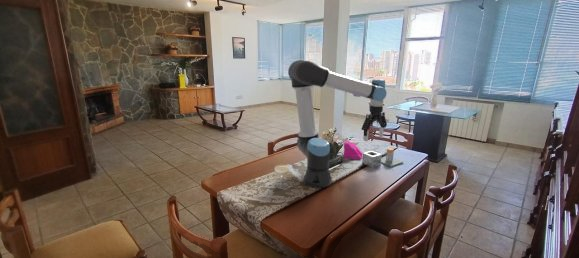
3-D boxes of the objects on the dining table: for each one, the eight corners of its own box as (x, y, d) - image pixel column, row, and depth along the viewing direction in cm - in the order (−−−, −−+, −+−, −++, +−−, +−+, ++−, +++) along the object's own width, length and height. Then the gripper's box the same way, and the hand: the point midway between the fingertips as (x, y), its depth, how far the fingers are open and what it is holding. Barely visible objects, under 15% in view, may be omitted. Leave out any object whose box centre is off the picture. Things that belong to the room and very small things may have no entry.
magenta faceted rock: (343, 157, 181) (344, 143, 178) (345, 152, 191) (346, 138, 188) (361, 159, 177) (362, 145, 175) (362, 154, 187) (363, 140, 184)
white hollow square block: (371, 167, 165) (372, 157, 163) (362, 163, 172) (363, 152, 170) (380, 164, 169) (381, 154, 168) (370, 160, 176) (371, 150, 174)
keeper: (390, 167, 166) (392, 153, 163) (375, 160, 175) (376, 148, 173) (402, 163, 172) (404, 150, 169) (387, 157, 181) (388, 144, 179)
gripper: (366, 108, 151) (363, 144, 157) (395, 104, 164) (391, 137, 170) (356, 106, 157) (354, 140, 163) (385, 102, 170) (381, 134, 176)
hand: (373, 139), depth 166 cm, fingers open, 13 cm apart
